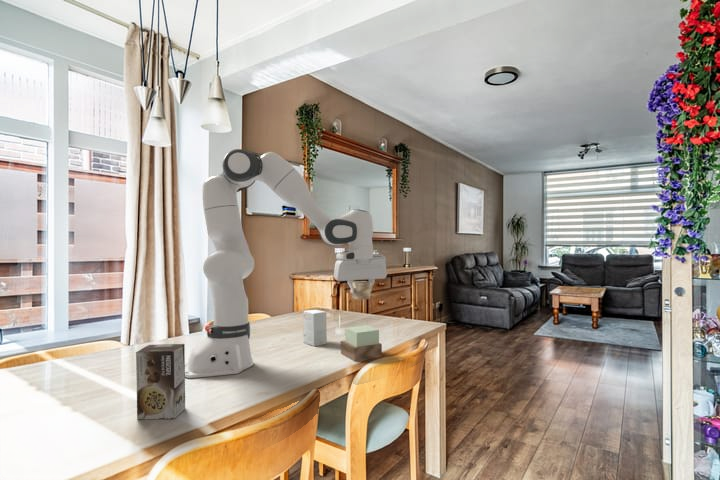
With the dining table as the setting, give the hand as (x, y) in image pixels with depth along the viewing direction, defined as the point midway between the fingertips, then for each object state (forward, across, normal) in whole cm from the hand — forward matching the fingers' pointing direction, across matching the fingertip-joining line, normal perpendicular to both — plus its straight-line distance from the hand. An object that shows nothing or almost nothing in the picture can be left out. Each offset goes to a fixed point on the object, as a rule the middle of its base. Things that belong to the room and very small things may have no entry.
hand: (361, 292), depth 142 cm
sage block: (+18, 0, 0) cm, 18 cm away
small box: (+23, +9, -24) cm, 35 cm away
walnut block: (+23, 0, 0) cm, 23 cm away
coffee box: (+23, +65, +20) cm, 72 cm away
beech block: (+2, 0, 0) cm, 2 cm away
